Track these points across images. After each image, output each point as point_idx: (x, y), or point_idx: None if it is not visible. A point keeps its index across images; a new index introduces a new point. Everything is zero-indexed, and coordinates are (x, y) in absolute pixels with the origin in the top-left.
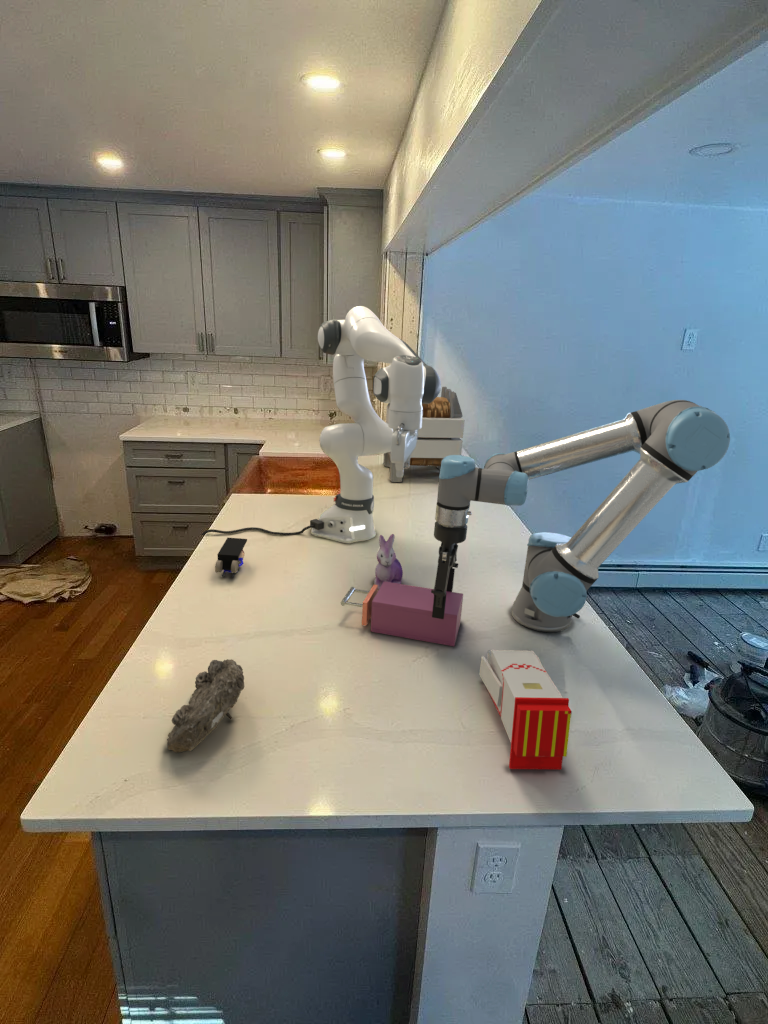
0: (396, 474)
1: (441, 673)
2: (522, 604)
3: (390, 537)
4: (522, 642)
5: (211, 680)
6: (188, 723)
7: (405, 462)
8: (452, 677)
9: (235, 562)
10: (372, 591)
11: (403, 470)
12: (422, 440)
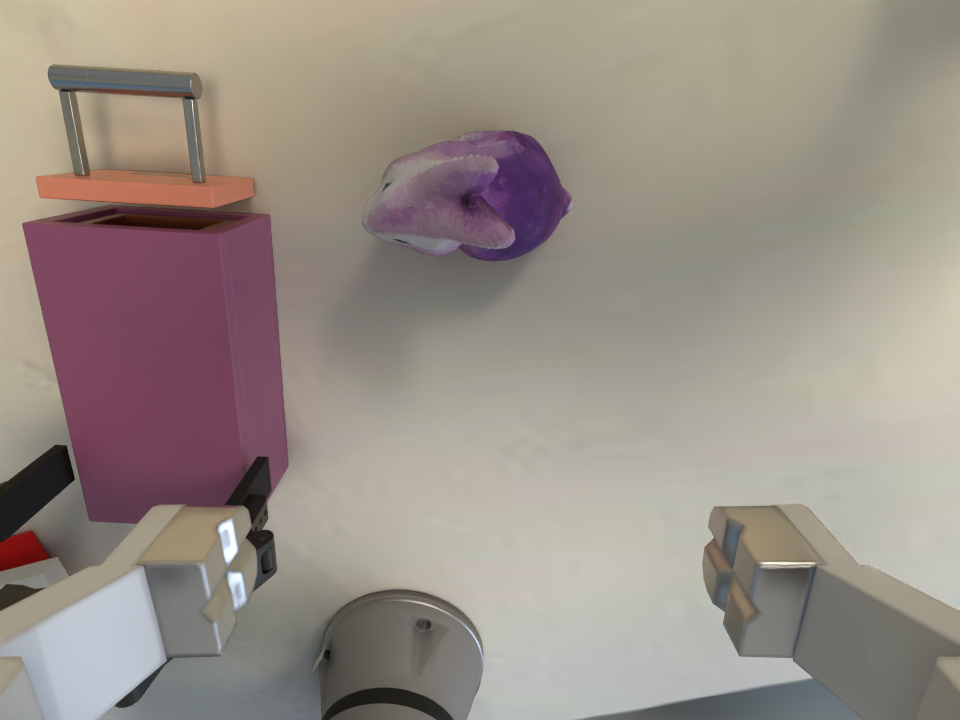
0: (142, 524)
1: (13, 437)
2: (347, 651)
3: (472, 228)
4: (255, 607)
5: None
6: None
7: (754, 608)
8: (12, 463)
9: None
10: (144, 196)
11: (172, 656)
12: None
